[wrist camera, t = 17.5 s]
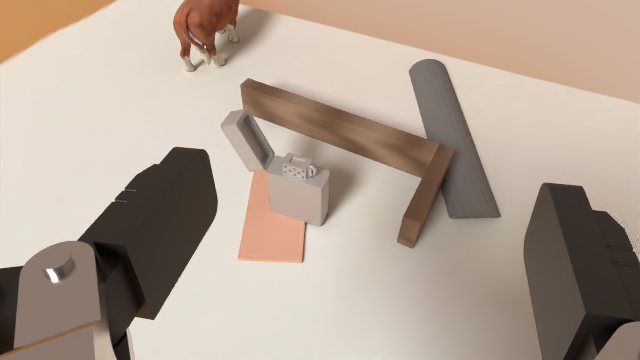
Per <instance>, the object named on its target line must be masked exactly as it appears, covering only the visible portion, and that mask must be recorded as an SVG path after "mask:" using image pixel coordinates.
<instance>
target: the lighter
mask: <svg viewBox="0 0 640 360" xmlns="http://www.w3.org/2000/svg"><path fill="white" fill-rule="evenodd" d="M221 129H222V131H223V132H224V134H225V135H226V137H227V138H228V140H229V141H230V143H231V144H232V146H233V147H234V149H235V150H236V152H237V153H238V155H239V157H240V158H241V160H242V161H243V163H244V164H245V166H246V167H247V169H248V170H249V171H263V170H266V173H267V184H268V194H269V204H270V210H271V212H274V213H277V214H280V215H284V216H287V217H290V218H293V219H297V220H300V221H303V222H306V223H309V224H313V225H316V226H321V225H322V224H323V222H324V219H325V217H326V215H327V213H328V204H329V185H330V171H329V170H327V169H323V168H320V167H316V166H314V164H313V163H312V159H310V158H306V157H302V156H299V155H295V154H292V153H287V155H286V157H285V158H284V157H281V156H275V153H274V151H273V150H272V148H271V146H270V145H269V143H268V141H267V140H266V138H265V136H264V135H263V133H262V131H261V129H260V128H259V126H258V124H257V123H256V121H255V119H254V118H253V116H252V114H251V113H250V111H249V110H248V109H244V110H238V111H232V112H230V114H229V115H228V116H227V117H226V119H225V120H224V121H223V122H222V124H221Z"/></svg>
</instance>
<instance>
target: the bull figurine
mask: <svg viewBox="0 0 640 360" xmlns="http://www.w3.org/2000/svg"><path fill="white" fill-rule="evenodd" d="M238 6H239V0H185V1H184V2H183V3H182V4H181V6H180V7H179V8H178V10H177V12H176V14H175V16H174V20H173V25H174V30H175V32H176V34H177V36H178V38H179V40H180V42H181V46H182V49H181V52H180V55H181V57H182V59H183V61H184V69H185V70H186V71H190V72H192V71H194V70H195V67H194V66H193V64H192V63H191V61H190V48H191V43H192V44H193V45H194V47H195V48H196V49H197V50H199V51H200V55H201V57H202V58H203V60H204V61H205V63H206V64H208V65H209V64H210V63H211V61H210V57H211V58H212V59H213V60H214V65H218V66H220V65H224V64H225V63H226V61H225V60H224V59H223V58H222V57H220V56H219V55H218V54H217V52H216V48H215V44H214V42H215V33H216V32H217V33H224V32H225V29H224V28H225V27H226V26H227V25H229V36H228V39H229V40H231V41H232V42H238V41H239V38H238V37H237V36H236V34H235V31H234V30H235V26H236V18H237V15H238ZM204 45H205V46H206V49H205V48H204Z"/></svg>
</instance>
